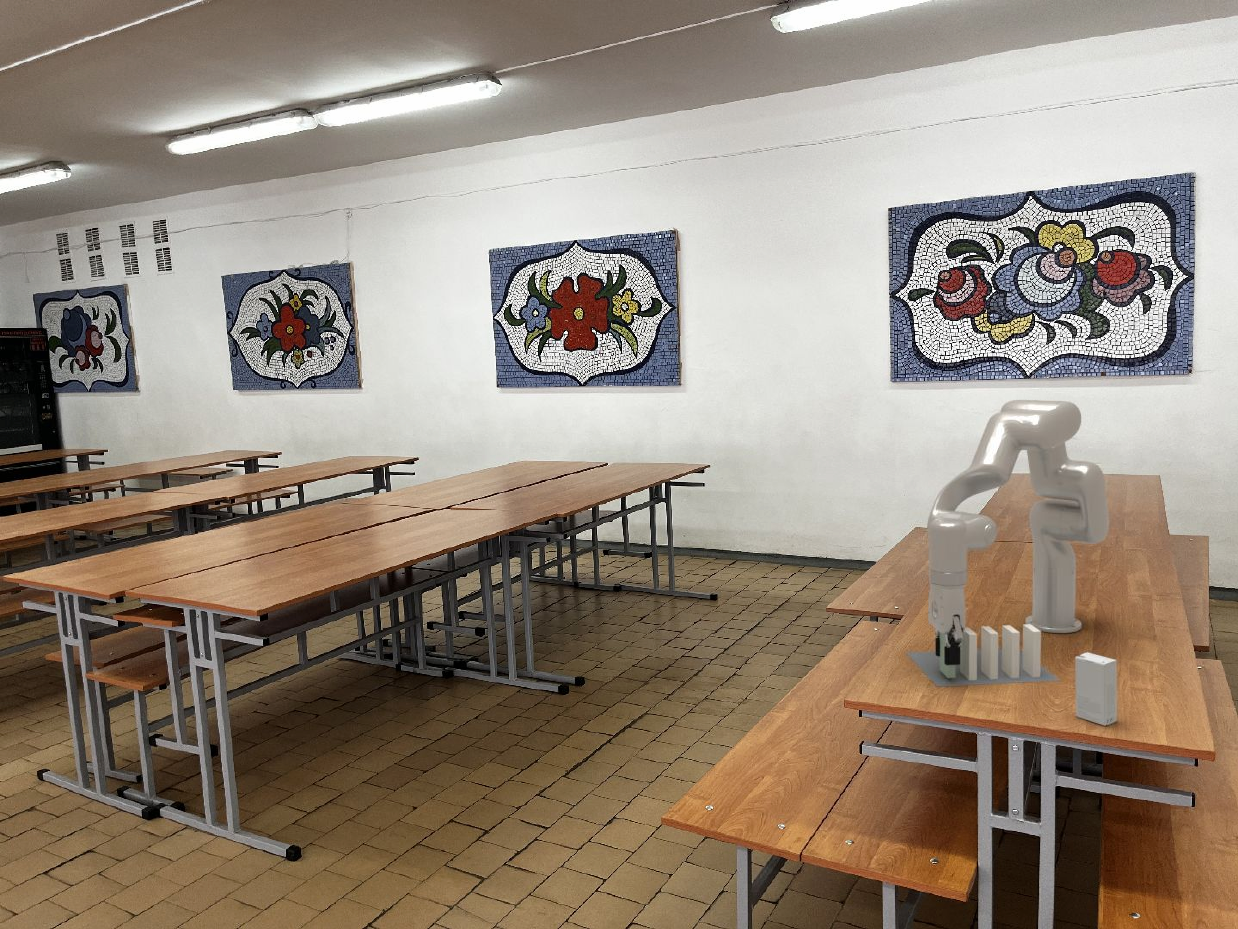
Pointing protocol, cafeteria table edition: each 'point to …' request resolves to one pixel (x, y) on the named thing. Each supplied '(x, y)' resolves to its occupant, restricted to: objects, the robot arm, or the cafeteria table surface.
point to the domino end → (945, 669)
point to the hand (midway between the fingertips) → (947, 659)
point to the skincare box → (1096, 688)
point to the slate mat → (932, 669)
